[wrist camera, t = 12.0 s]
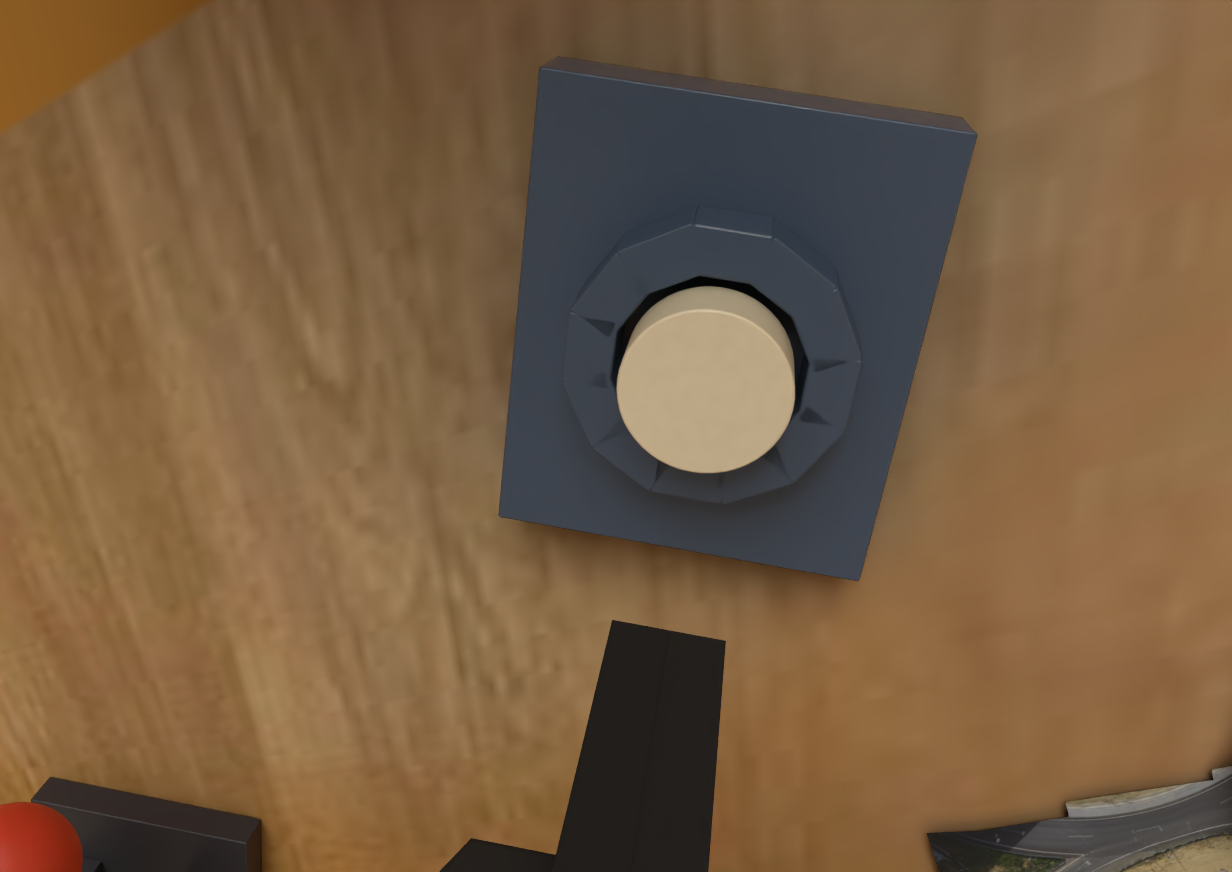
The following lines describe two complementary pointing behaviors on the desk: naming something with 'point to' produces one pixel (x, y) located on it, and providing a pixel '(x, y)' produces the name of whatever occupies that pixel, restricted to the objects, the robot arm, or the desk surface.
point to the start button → (707, 380)
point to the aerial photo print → (1108, 835)
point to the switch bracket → (152, 831)
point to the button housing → (735, 259)
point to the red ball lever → (37, 840)
